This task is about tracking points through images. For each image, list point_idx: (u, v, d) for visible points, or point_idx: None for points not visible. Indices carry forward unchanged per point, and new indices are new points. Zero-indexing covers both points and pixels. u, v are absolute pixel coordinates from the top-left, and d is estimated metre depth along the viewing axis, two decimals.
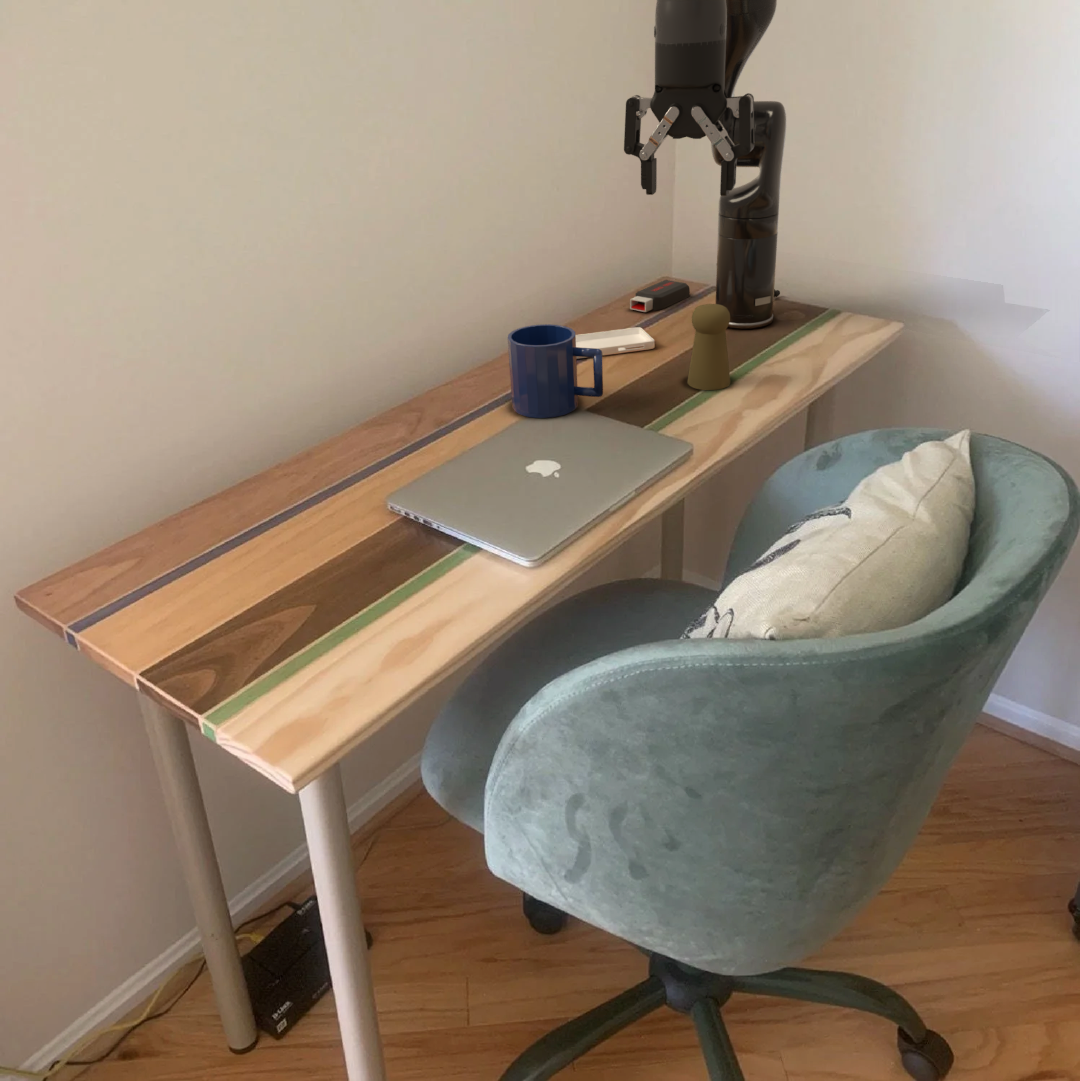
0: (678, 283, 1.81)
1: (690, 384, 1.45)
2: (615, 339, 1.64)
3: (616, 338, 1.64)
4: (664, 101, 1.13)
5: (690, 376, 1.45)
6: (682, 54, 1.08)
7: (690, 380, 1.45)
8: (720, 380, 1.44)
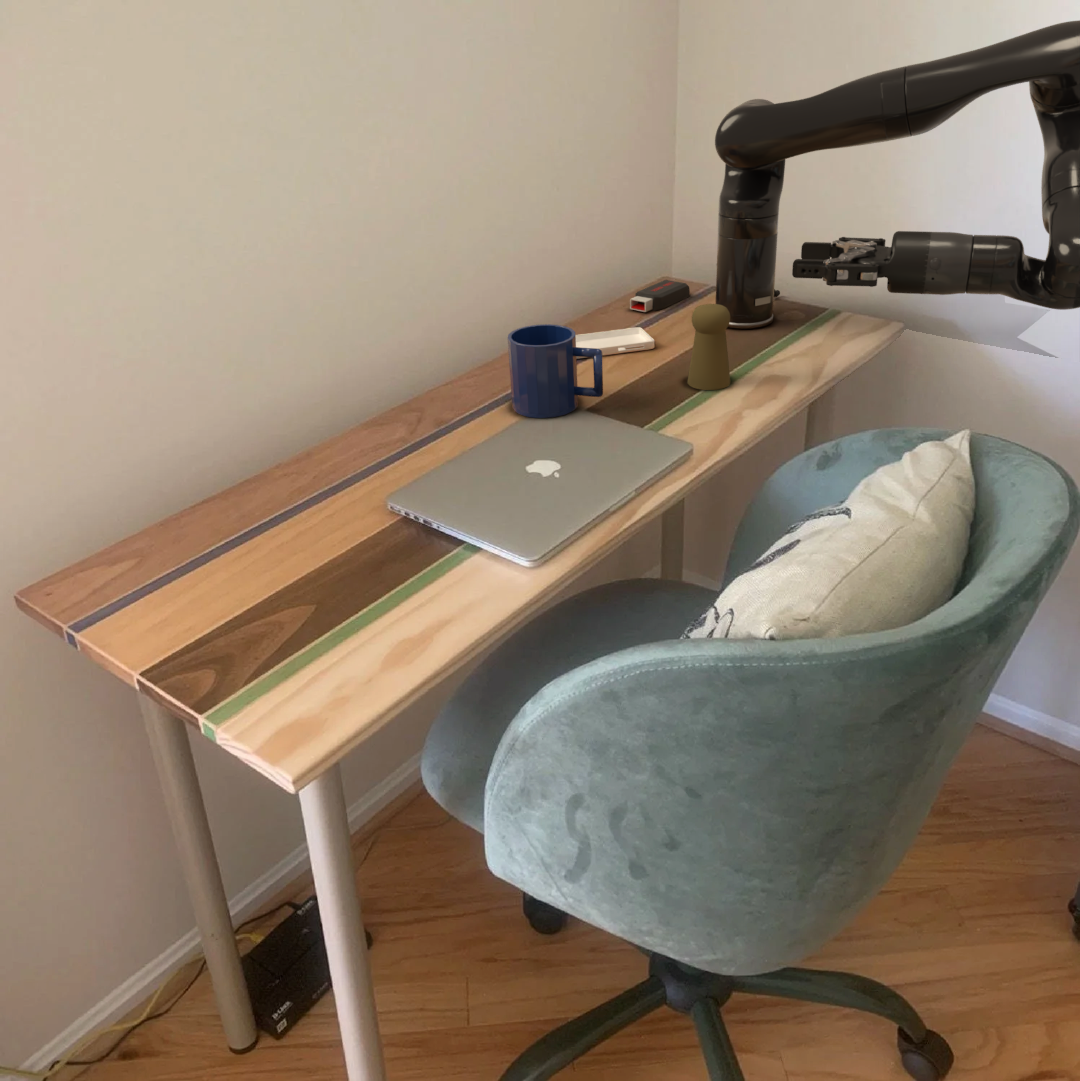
0: (678, 283, 1.81)
1: (690, 384, 1.45)
2: (615, 339, 1.64)
3: (616, 338, 1.64)
4: (880, 247, 1.32)
5: (690, 376, 1.45)
6: (921, 232, 1.27)
7: (690, 380, 1.45)
8: (720, 380, 1.44)
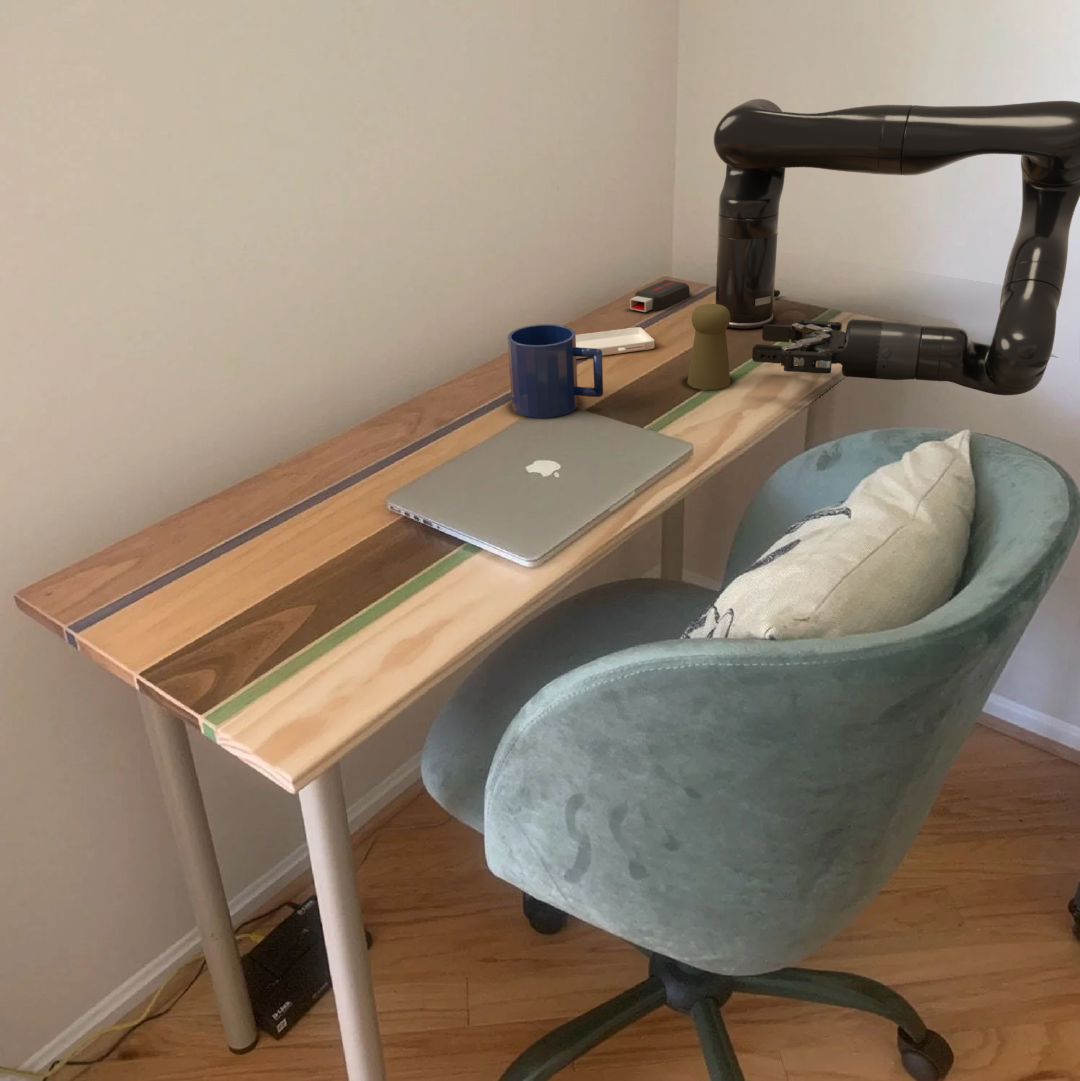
0: (678, 283, 1.81)
1: (690, 384, 1.45)
2: (615, 339, 1.64)
3: (616, 338, 1.64)
4: (835, 333, 1.40)
5: (690, 376, 1.45)
6: (874, 321, 1.35)
7: (690, 380, 1.45)
8: (720, 380, 1.44)
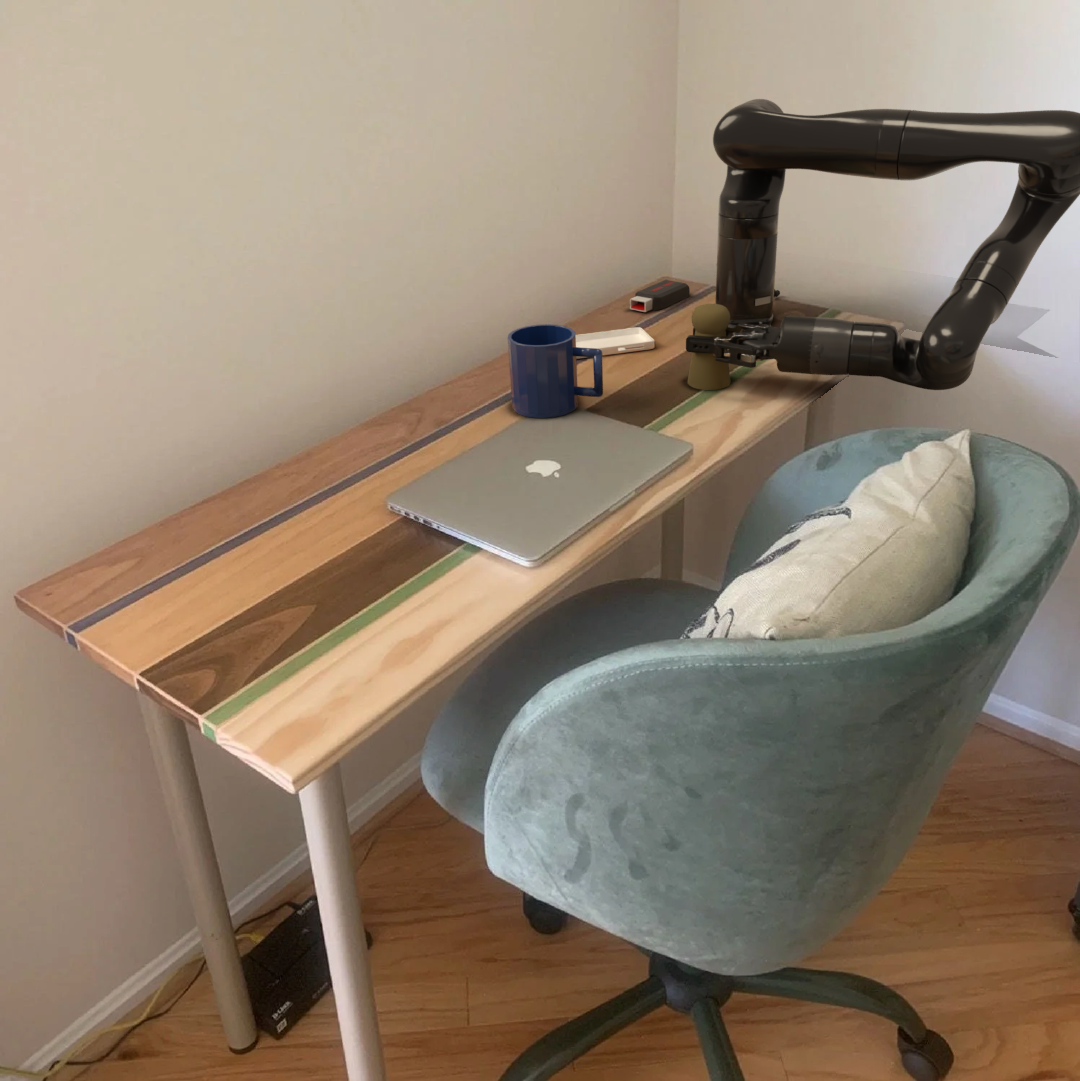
0: (678, 283, 1.81)
1: (690, 384, 1.45)
2: (615, 339, 1.64)
3: (616, 338, 1.64)
4: (774, 329, 1.42)
5: (690, 376, 1.45)
6: (807, 318, 1.37)
7: (690, 380, 1.45)
8: (720, 380, 1.44)
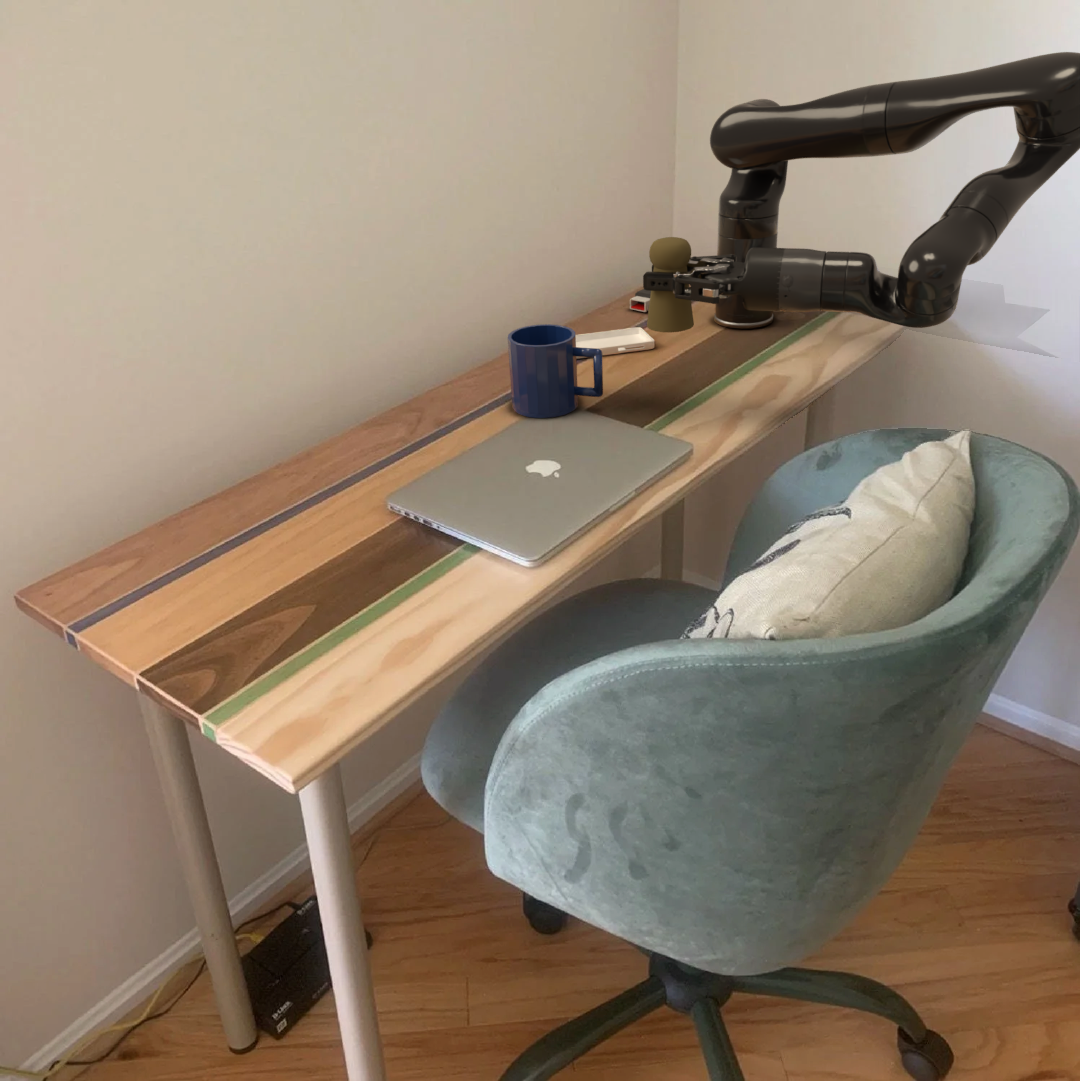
0: None
1: (649, 327, 1.33)
2: (615, 339, 1.64)
3: (616, 338, 1.64)
4: (739, 263, 1.30)
5: (649, 318, 1.32)
6: (775, 248, 1.25)
7: (649, 322, 1.33)
8: (682, 321, 1.31)
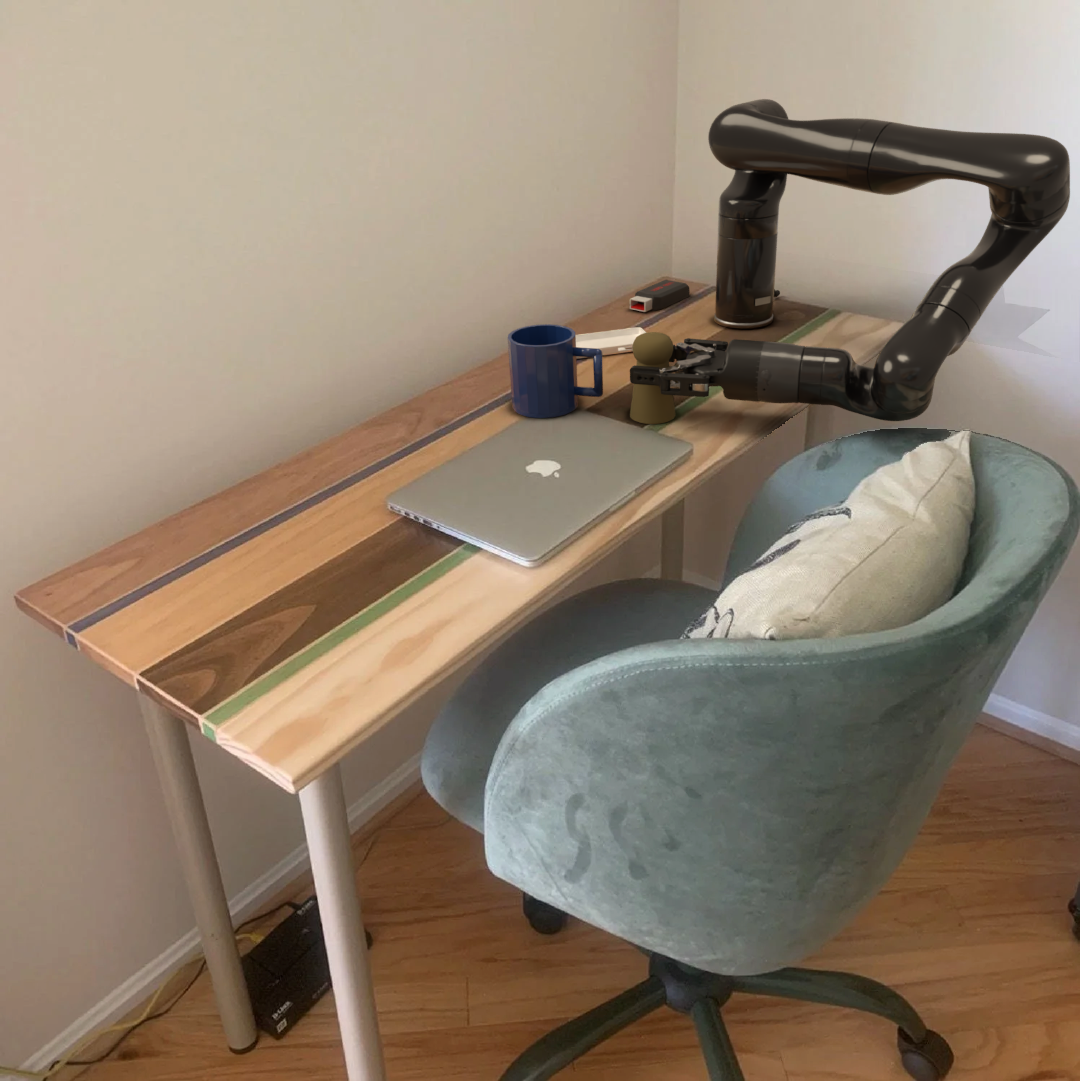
0: (678, 283, 1.81)
1: (632, 417, 1.36)
2: (615, 339, 1.64)
3: (616, 338, 1.64)
4: (719, 353, 1.33)
5: (632, 409, 1.36)
6: (755, 342, 1.28)
7: (632, 413, 1.36)
8: (664, 413, 1.35)
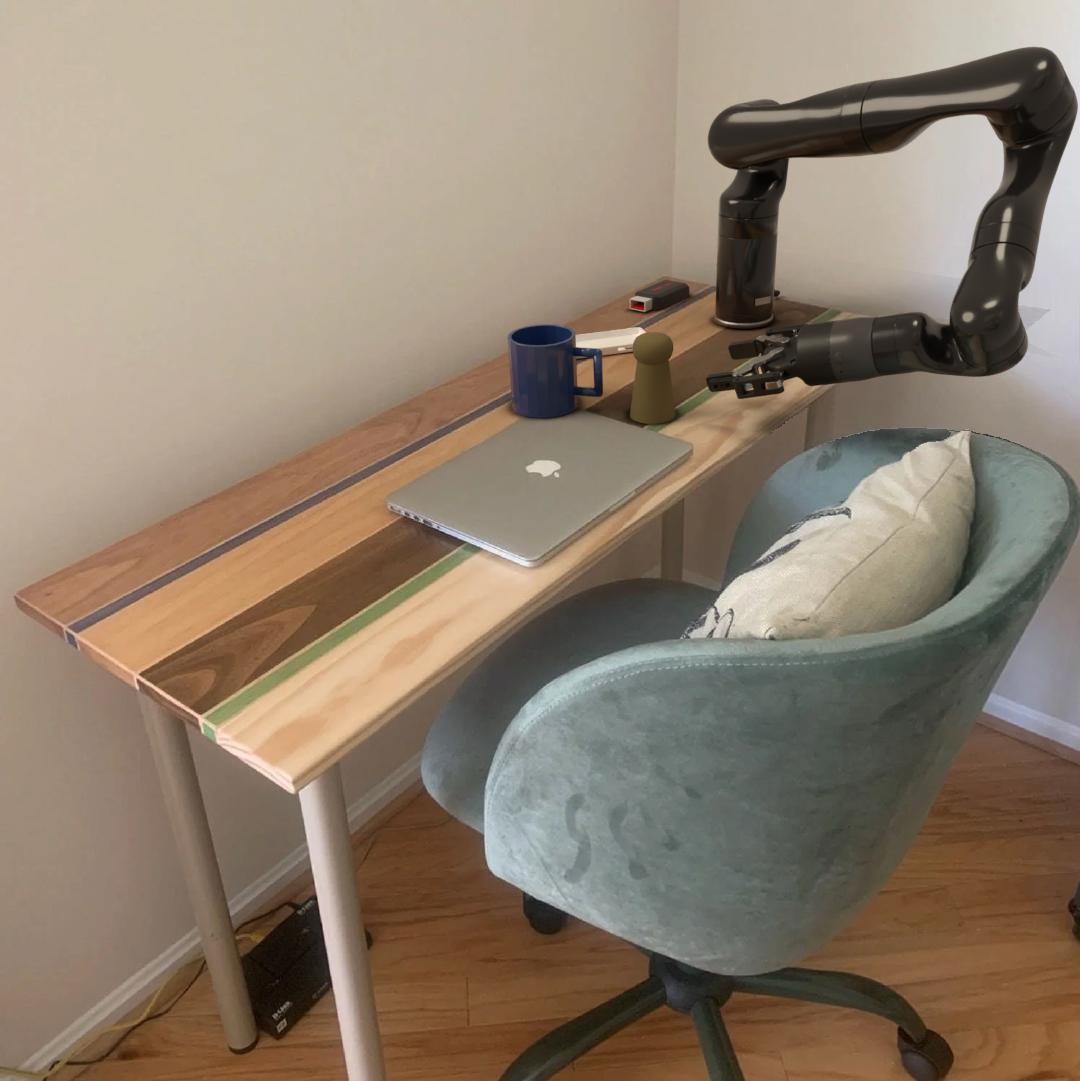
0: (678, 283, 1.81)
1: (632, 417, 1.36)
2: (615, 339, 1.64)
3: (616, 338, 1.64)
4: None
5: (632, 409, 1.36)
6: (824, 324, 1.24)
7: (632, 413, 1.36)
8: (664, 413, 1.35)
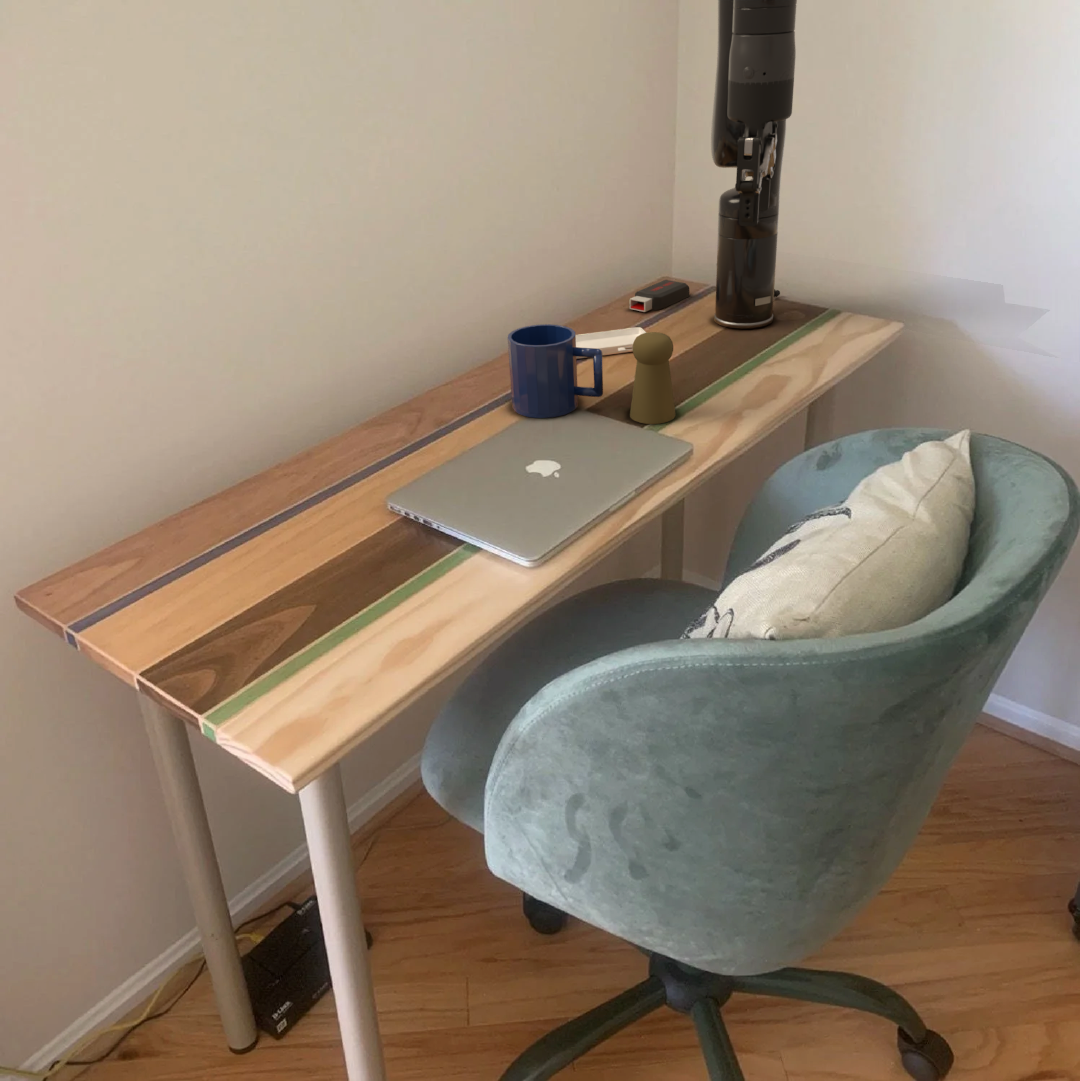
0: (678, 283, 1.81)
1: (632, 417, 1.36)
2: (615, 339, 1.64)
3: (616, 338, 1.64)
4: None
5: (632, 409, 1.36)
6: None
7: (632, 413, 1.36)
8: (664, 413, 1.35)
